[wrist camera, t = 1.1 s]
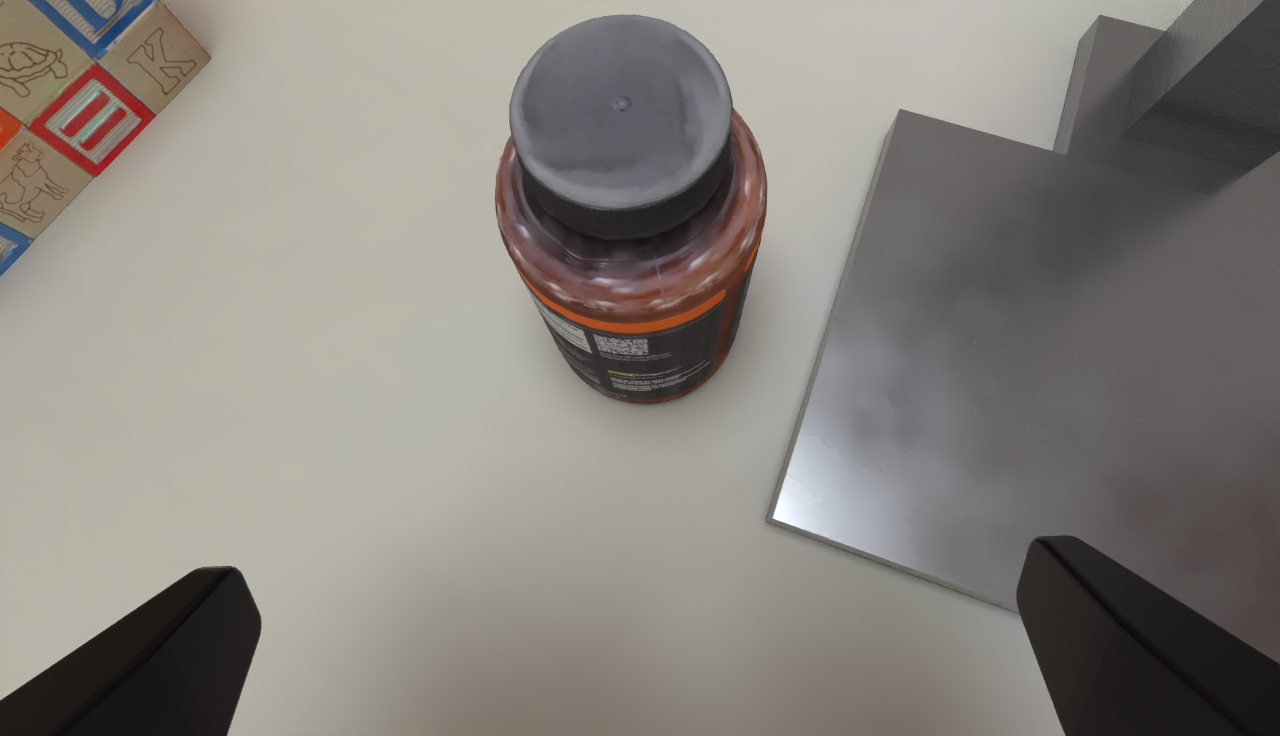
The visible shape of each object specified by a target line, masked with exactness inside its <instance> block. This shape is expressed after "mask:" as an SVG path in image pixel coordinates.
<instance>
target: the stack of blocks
mask: <svg viewBox="0 0 1280 736" xmlns="http://www.w3.org/2000/svg"><path fill="white" fill-rule="evenodd" d="M210 59H211V58H210V56H209V55H208V54H207V52H206V51H205V50H204V49H203V48H202V47H201V46H200V45H199V43H198V42H197V41H196V40H195V39H194V38H193V37H192V36H191V35H190V33H189V32H188V31H187V30H186V29H185V28H184V27H183V25H182V24H181V23H180V22H179V21H178V20H177V19H176V18H175V16H174V15H173V14H172V13H171V12H170V11H169V9H168V8H167V7H166V6H165V5H164V4H163V3H162V2H161V1H160V0H0V276H1V275H2V274H3V273H4V272H5V270H6V269H7V268H8V267H9V266H10V265H12V263H13V262H14V261H15V260H16V259H17V258H18V257H19V256H20V255H21V254H22V253H23V252H24V251H25V250H26V249H27V248H28V247H29V246H30V244H31V242H32V241H33V239H35V238H36V237H37V236H39V235H40V234H41V233H42V232H43V231H44V230H45V228H46V227H47V226H48V225H49V224H50V223H51V222H52V221H53V220H54V219H55V218H56V217H57V216H58V215H59V214H60V213H61V212H62V211H63V210H64V209H65V208H66V206H67V205H68V204H69V203H70V202H71V201H72V200H73V199H74V198H75V197H76V196H77V195H78V194H79V193H80V192H81V191H82V190H83V189H84V188H85V187H86V186H87V185H88V183H89V182H90V181H91V180H92V179H93V178H94V177H96V176H98V175H99V174H100V173H101V172H102V171H103V170H104V169H105V168H106V167H107V166H108V165H109V164H110V163H111V162H112V161H113V160H114V159H115V158H116V157H117V156H118V155H119V154H120V153H121V152H122V151H123V150H124V149H125V147H126V146H127V145H128V144H129V143H130V142H131V141H132V140H133V139H134V138H135V137H136V136H137V135H138V134H139V133H140V132H141V131H142V130H143V129H144V128H145V127H146V126H147V125H148V124H149V123H150V122H151V121H152V119H153V118H155V116H156V115H157V114H158V113H160V112H161V111H162V110H163V109H164V108H165V107H166V106H167V105H168V104H169V103H170V102H171V101H172V100H173V99H174V98H175V97H176V96H177V95H178V93H179V92H180V91H181V90H182V89H183V88H184V87H185V86H186V85H187V84H188V83H189V82H190V81H191V80H192V79H193V78H194V77H195V76H196V75H197V74H198V73H199V72H200V71H201V70H202V69H203V68H204V66H205V65H206V64H207V63H208V62H209V61H210Z"/></svg>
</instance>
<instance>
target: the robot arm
mask: <svg viewBox="0 0 1280 736" xmlns="http://www.w3.org/2000/svg"><path fill="white" fill-rule="evenodd" d="M1016 601H1017V606H1018V610H1019V613H1020V616H1021V619H1022V621H1023V624H1024V627H1025V629H1026V632H1027V635H1028V637H1029V640H1030V643H1031V646H1032V648H1033V651H1034V654H1035V656H1036V659H1037V662H1038V664H1039V667H1040V670H1041V673H1042V675H1043V678H1044V681H1045V683H1046V686H1047V689H1048V691H1049V694H1050V697H1051V699H1052V702H1053V705H1054V708H1055V710H1056V713H1057V716H1058V718H1059V721H1060V724H1061V726H1062V728H1063V731H1064V733H1065V736H1280V663H1279V662H1278V661H1276V660H1274V659H1273V658H1271V657H1269V656H1268V655H1266V654H1265V653H1263V652H1261V651H1260V650H1258V649H1257V648H1255V647H1253V646H1252V645H1250V644H1248V643H1247V642H1245V641H1244V640H1242V639H1240V638H1239V637H1237V636H1236V635H1234V634H1232V633H1231V632H1229V631H1228V630H1226V629H1224V628H1223V627H1221V626H1219V625H1218V624H1216V623H1215V622H1213V621H1211V620H1210V619H1208V618H1207V617H1205V616H1203V615H1202V614H1200V613H1198V612H1197V611H1195V610H1194V609H1192V608H1190V607H1189V606H1187V605H1186V604H1184V603H1182V602H1181V601H1179V600H1177V599H1176V598H1174V597H1173V596H1171V595H1169V594H1168V593H1166V592H1165V591H1163V590H1161V589H1160V588H1158V587H1156V586H1155V585H1153V584H1152V583H1150V582H1148V581H1147V580H1145V579H1144V578H1142V577H1140V576H1139V575H1137V574H1136V573H1134V572H1132V571H1131V570H1129V569H1127V568H1126V567H1124V566H1123V565H1121V564H1119V563H1118V562H1116V561H1115V560H1113V559H1111V558H1110V557H1108V556H1106V555H1105V554H1103V553H1102V552H1100V551H1098V550H1097V549H1095V548H1094V547H1092V546H1090V545H1089V544H1087V543H1085V542H1084V541H1082V540H1080V539H1079V538H1077V537H1074V536H1069V535H1058V536H1039V537H1036V538H1034V539H1033V540H1032V541H1031V542H1030V544H1029V547H1028V550H1027V553H1026V557H1025V560H1024V564H1023V567H1022V570H1021V574H1020V577H1019V581H1018V584H1017V589H1016ZM260 633H261V616H260V613H259V610H258V608H257V606H256V604H255V601H254V599H253V597H252V595H251V592H250V590H249V588H248V586H247V583H246V581H245V579H244V577H243V575H242V573H241V571H239V570H238V569H237V568H236V567H232V566H215V567H202V568H198V569H195V570H193V571H192V572H190V573H189V574H187V575H186V576H184V577H183V578H181V579H180V580H178V581H177V582H175V583H174V584H172V585H171V586H169V587H168V588H166V589H165V590H163V591H162V592H160V593H159V594H157V595H156V596H154V597H153V598H151V599H150V600H149V601H147V602H146V603H144V604H143V605H141V606H140V607H138V608H137V609H135V610H134V611H132V612H131V613H129V614H128V615H126V616H125V617H123V618H122V619H120V620H119V621H117V622H116V623H114V624H113V625H111V626H110V627H109V628H107V629H106V630H104V631H103V632H101V633H100V634H98V635H97V636H95V637H94V638H92V639H91V640H89V641H88V642H86V643H85V644H83V645H82V646H80V647H79V648H77V649H76V650H74V651H73V652H71V653H70V654H69V655H67V656H66V657H64V658H63V659H61V660H60V661H58V662H57V663H55V664H54V665H52V666H51V667H49V668H48V669H46V670H45V671H43V672H42V673H40V674H39V675H37V676H36V677H34V678H33V679H31V680H30V681H28V682H27V683H26V684H24V685H23V686H21V687H20V688H18V689H17V690H15V691H14V692H12V693H11V694H9V695H8V696H6V697H5V698H3V699H2V700H0V736H227V734H228V731H229V728H230V725H231V722H232V719H233V716H234V713H235V710H236V707H237V704H238V701H239V698H240V695H241V692H242V689H243V686H244V683H245V680H246V677H247V674H248V671H249V668H250V665H251V662H252V659H253V656H254V653H255V650H256V647H257V644H258V641H259V637H260Z"/></svg>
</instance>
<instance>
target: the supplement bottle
mask: <svg viewBox="0 0 1280 736" xmlns="http://www.w3.org/2000/svg"><path fill="white" fill-rule="evenodd" d="M509 114H510V129H511V136H510V137H509V139H508V141H507V143H506V146H505V149H504V152H503V155H502V156H501V158H500V164H499V167H498V171H497V175H496V189H495V203H496V215H497V220H498V226H499V229H500V233H501V237H502V239H503V242H504V244H505V246H506V249H507V251H508V253H509V255H510V257H511V259H512V260H513V262H514V264H515V266H516V268H517V270H518V272H519V274H520V276H521V278H522V280H523V281H524V283H525V285H526V287H527V289H528V291H529V293H530V294H531V296H532V298H533V300H534V302H535V304H536V306H537V308H538V310H539V312H540V314H541V315H542V317H543V319H544V321H545V323H546V325H547V327H548V329H549V331H550V332H551V334H552V336H553V338H554V340H555V342H556V344H557V346H558V348H559V350H560V351H561V353H562V354H563V356H564V358H565V359H566V361H567V362H568V363H569V365H570V367H571V368H572V369H573V371H574V372H575V373H576V374H577V375H578V376H579V377H580V378H581V379H582V380H584V381H585V382H586V383H587V384H589V385H590V386H591V387H593V388H594V389H596V390H598V391H599V392H601V393H602V394H604V395H607V396H610V397H614V398H616V399H619V400H624V401H628V402H637V403H652V402H661V401H667V400H670V399H673V398H677V397H680V396H682V395H684V394H686V393H688V392H690V391H692V390H693V389H695V388H696V387H698V386H699V385H701V384H702V383H703V382H705V381H706V380H707V379H708V378H709V377H710V376H711V375H712V374H713V373H714V372H715V371H716V370H717V369H718V367H719V366H720V365H721V363H722V362H723V360H724V359H725V358H726V356H727V354H728V352H729V350H730V348H731V346H732V344H733V342H734V339H735V335H736V332H737V329H738V326H739V321H740V318H741V313H742V309H743V305H744V301H745V298H746V294H747V290H748V286H749V283H750V278H751V274H752V270H753V267H754V263H755V260H756V256H757V252H758V248H759V245H760V242H761V234H762V231H763V227H764V223H765V217H766V208H767V178H766V172H765V167H764V163H763V159H762V155H761V151H760V149H759V147H758V144H757V142H756V140H755V138H754V136H753V133H752V132H751V131H750V129H749V127H748V126H747V124H746V123H745V122H744V120H743V119H742V117H741V116H740V115H739V113H738V112H737V111H736V110H735V109H734V108H733V102H732V97H731V92H730V88H729V85H728V82H727V79H726V77H725V74H724V72H723V70H722V68H721V66H720V64H719V63H718V62H717V60H716V59H715V57H714V55H713V54H712V53H711V52H709V50H708V49H707V48H706V47H705V46H704V45H703V44H702V43H701V42H700V41H698V40H697V39H696V38H695V37H693V36H692V35H691V34H689V33H688V32H687V31H685V30H682V29H680V28H678V27H677V26H675V25H673V24H671V23H669V22H666V21H663V20H659V19H655V18H651V17H645V16H640V15H612V16H604V17H599V18H593V19H590V20H587V21H584V22H581V23H579V24H576V25H574V26H572V27H570V28H568V29H566V30H564V31H562V32H560V33H559V34H557V35H556V36H554V37H553V38H551V39H549V40H548V41H547V42H546V43H545V44H544V45H543V46H542V47H541V48H539V49H538V50H537V51H536V53H535V54H534V55H533V56H532V58H531V59H530V60H529V62H528V63H527V65H526V66H525V67H524V68H523V70H522V71H521V73H520V75H519V77H518V79H517V82H516V85H515V87H514V90H513V94H512V98H511V102H510V113H509Z"/></svg>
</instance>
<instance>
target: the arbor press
mask: <svg viewBox="0 0 1280 736" xmlns="http://www.w3.org/2000/svg"><path fill="white" fill-rule="evenodd" d="M766 522H768V523H771V524H774V525H776V526H779V527H782V528H785V529H787V530H790V531H793V532H796V533H798V534H801V535H804V536H807V537H809V538H812V539H815V540H818V541H820V542H823V543H826V544H829V545H831V546H834V547H837V548H840V549H843V550H845V551H848V552H851V553H854V554H856V555H859V556H862V557H865V558H867V559H870V560H873V561H876V562H878V563H881V564H884V565H887V566H889V567H892V568H895V569H898V570H900V571H903V572H906V573H909V574H911V575H914V576H917V577H920V578H923V579H925V580H928V581H931V582H934V583H936V584H939V585H942V586H945V587H947V588H950V589H953V590H956V591H958V592H961V593H964V594H967V595H969V596H972V597H975V598H978V599H980V600H983V601H986V602H989V603H991V604H994V605H997V606H1000V607H1003V608H1005V609H1008V610H1011V611H1014V612H1016V613H1019V610H1018V606H1017V601H1016V589H1017V584H1018V581H1019V577H1020V574H1021V570H1022V567H1023V564H1024V560H1025V557H1026V553H1027V550H1028V547H1029V544H1030V542H1031V541H1032V540H1033V539H1034V538H1036V537H1039V536H1058V535H1069V536H1074V537H1077V538H1079V539H1080V540H1082V541H1084V542H1085V543H1087V544H1089V545H1090V546H1092V547H1094V548H1095V549H1097V550H1098V551H1100V552H1102V553H1103V554H1105V555H1106V556H1108V557H1110V558H1111V559H1113V560H1115V561H1116V562H1118V563H1119V564H1121V565H1123V566H1124V567H1126V568H1127V569H1129V570H1131V571H1132V572H1134V573H1136V574H1137V575H1139V576H1140V577H1142V578H1144V579H1145V580H1147V581H1148V582H1150V583H1152V584H1153V585H1155V586H1156V587H1158V588H1160V589H1161V590H1163V591H1165V592H1166V593H1168V594H1169V595H1171V596H1173V597H1174V598H1176V599H1177V600H1179V601H1181V602H1182V603H1184V604H1186V605H1187V606H1189V607H1190V608H1192V609H1194V610H1195V611H1197V612H1198V613H1200V614H1202V615H1203V616H1205V617H1207V618H1208V619H1210V620H1211V621H1213V622H1215V623H1216V624H1218V625H1219V626H1221V627H1223V628H1224V629H1226V630H1228V631H1229V632H1231V633H1232V634H1234V635H1236V636H1237V637H1239V638H1240V639H1242V640H1244V641H1245V642H1247V643H1248V644H1250V645H1252V646H1253V647H1255V648H1257V649H1258V650H1260V651H1261V652H1263V653H1265V654H1266V655H1268V656H1269V657H1271V658H1273V659H1274V660H1276V661H1278V662H1279V663H1280V0H1194V1H1193V2H1192V3H1191V4H1190V5H1189V6H1188V7H1187V9H1186V10H1185V11H1184V12H1183V13H1182V14H1181V15H1180V16H1179V17H1178V18H1177V19H1176V20H1175V21H1174V23H1173V24H1172V25H1171V26H1170V27H1169V28H1168V29H1167V30H1166V31H1162V30H1158V29H1154V28H1150V27H1146V26H1142V25H1138V24H1134V23H1130V22H1126V21H1122V20H1118V19H1115V18H1111V17H1107V16H1103V15H1099V16H1098V18H1097V19H1096V20H1095V22H1094V23H1093V24H1092V25H1091V27H1090V28H1089V29H1088V31H1087V32H1086V33H1085V34H1084V36H1083V37H1082V38H1081V39H1080V43H1079V47H1078V51H1077V55H1076V59H1075V63H1074V68H1073V72H1072V76H1071V80H1070V84H1069V88H1068V92H1067V96H1066V101H1065V105H1064V109H1063V113H1062V117H1061V121H1060V125H1059V129H1058V133H1057V138H1056V142H1055V146H1054V150H1053V151H1049V150H1046V149H1042V148H1039V147H1035V146H1031V145H1028V144H1024V143H1021V142H1017V141H1013V140H1010V139H1006V138H1003V137H999V136H996V135H992V134H988V133H985V132H981V131H978V130H974V129H970V128H967V127H963V126H960V125H956V124H953V123H949V122H945V121H942V120H938V119H935V118H931V117H927V116H924V115H920V114H917V113H913V112H910V111H906V110H902V109H899V111H898V113H897V115H896V117H895V119H894V121H893V123H892V125H891V127H890V129H889V131H888V133H887V135H886V138H885V141H884V144H883V148H882V151H881V154H880V157H879V160H878V164H877V167H876V170H875V173H874V176H873V180H872V183H871V186H870V189H869V192H868V196H867V199H866V202H865V205H864V208H863V212H862V215H861V218H860V221H859V224H858V227H857V231H856V234H855V237H854V240H853V243H852V247H851V250H850V253H849V256H848V259H847V263H846V266H845V269H844V272H843V275H842V279H841V282H840V285H839V288H838V291H837V295H836V298H835V301H834V304H833V307H832V311H831V314H830V317H829V320H828V323H827V327H826V330H825V333H824V336H823V339H822V343H821V346H820V349H819V352H818V355H817V359H816V362H815V365H814V368H813V371H812V375H811V378H810V381H809V384H808V387H807V390H806V394H805V397H804V400H803V403H802V406H801V410H800V413H799V416H798V419H797V422H796V426H795V429H794V432H793V435H792V438H791V442H790V445H789V448H788V451H787V454H786V458H785V461H784V464H783V467H782V470H781V474H780V477H779V480H778V483H777V486H776V490H775V493H774V496H773V499H772V502H771V506H770V509H769V512H768V515H767V518H766ZM1019 614H1020V613H1019Z"/></svg>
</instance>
